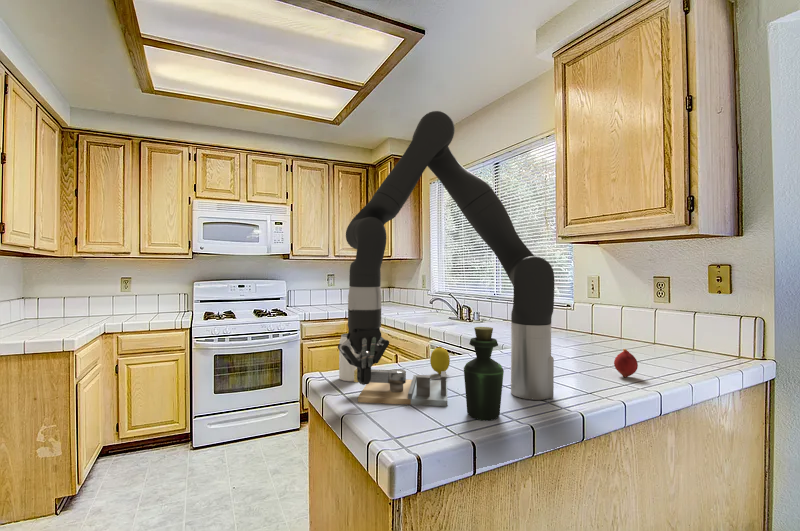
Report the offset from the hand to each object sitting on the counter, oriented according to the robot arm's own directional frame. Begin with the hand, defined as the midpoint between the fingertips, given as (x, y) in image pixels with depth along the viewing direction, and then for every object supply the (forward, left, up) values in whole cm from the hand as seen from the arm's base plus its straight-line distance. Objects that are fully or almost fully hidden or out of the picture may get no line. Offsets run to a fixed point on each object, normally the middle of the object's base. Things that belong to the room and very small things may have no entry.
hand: (363, 383), depth 93 cm
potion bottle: (-26, +5, -4) cm, 27 cm away
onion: (-69, -31, -4) cm, 75 cm away
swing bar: (-3, -6, -1) cm, 7 cm away
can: (+7, -19, -4) cm, 21 cm away
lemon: (-17, -27, -4) cm, 32 cm away
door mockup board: (-9, -8, -4) cm, 13 cm away
